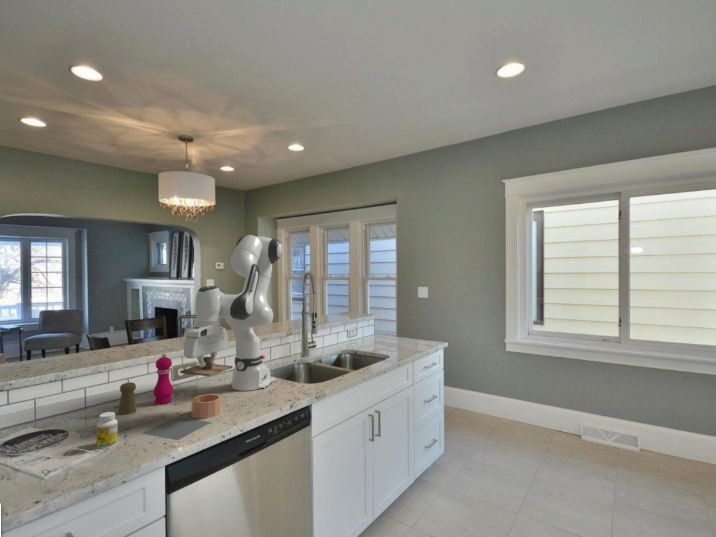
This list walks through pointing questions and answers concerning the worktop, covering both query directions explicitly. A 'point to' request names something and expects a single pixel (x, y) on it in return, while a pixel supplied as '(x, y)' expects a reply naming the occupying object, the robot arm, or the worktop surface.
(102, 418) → the supplement bottle
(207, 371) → the lid
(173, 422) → the mat
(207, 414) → the bowl
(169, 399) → the pepper mill
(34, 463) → the worktop surface
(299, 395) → the worktop surface
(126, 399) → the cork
